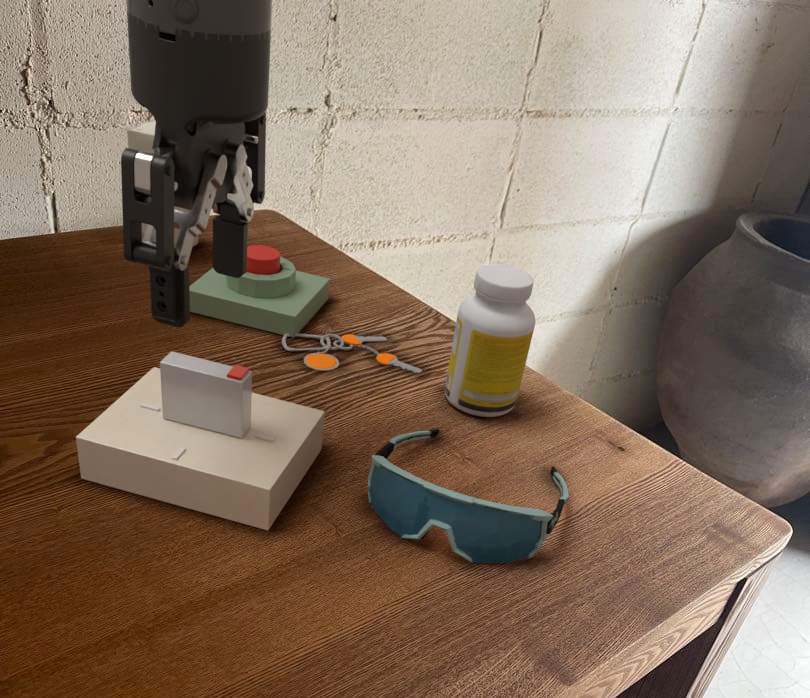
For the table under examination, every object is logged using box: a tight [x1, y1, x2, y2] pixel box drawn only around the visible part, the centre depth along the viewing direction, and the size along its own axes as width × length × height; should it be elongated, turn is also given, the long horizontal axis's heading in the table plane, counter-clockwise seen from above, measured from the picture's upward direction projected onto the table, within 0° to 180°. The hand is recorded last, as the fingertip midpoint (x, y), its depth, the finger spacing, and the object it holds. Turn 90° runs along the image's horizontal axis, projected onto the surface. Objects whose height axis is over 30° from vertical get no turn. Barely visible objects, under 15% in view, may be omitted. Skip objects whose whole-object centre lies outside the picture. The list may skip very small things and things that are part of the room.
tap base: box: [75, 366, 325, 531], centre depth 63 cm, size 14×11×4 cm
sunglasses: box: [367, 428, 570, 564], centre depth 63 cm, size 14×15×5 cm
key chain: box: [281, 332, 423, 375], centre depth 80 cm, size 13×7×1 cm, turn 97°
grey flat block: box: [159, 351, 253, 438], centre depth 60 cm, size 6×2×5 cm, turn 76°
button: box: [246, 244, 281, 275], centre depth 82 cm, size 4×4×2 cm
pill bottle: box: [444, 263, 536, 418], centre depth 73 cm, size 6×6×12 cm
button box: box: [190, 255, 331, 338], centre depth 84 cm, size 11×10×4 cm
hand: (201, 297), depth 56 cm, fingers open, 8 cm apart
